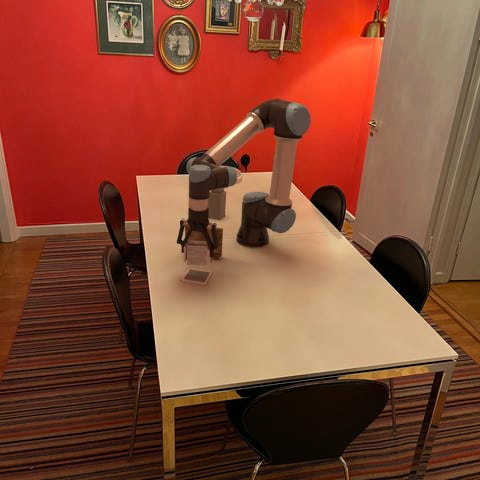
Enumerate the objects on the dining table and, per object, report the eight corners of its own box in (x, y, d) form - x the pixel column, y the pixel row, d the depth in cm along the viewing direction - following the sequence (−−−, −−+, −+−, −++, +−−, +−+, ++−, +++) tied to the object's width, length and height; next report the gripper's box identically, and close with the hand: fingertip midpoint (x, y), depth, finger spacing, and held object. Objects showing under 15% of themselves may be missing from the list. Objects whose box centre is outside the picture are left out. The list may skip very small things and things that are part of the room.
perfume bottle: (207, 217, 241) (208, 184, 234) (213, 213, 247) (214, 180, 239) (219, 220, 239) (221, 186, 231) (225, 215, 245) (226, 182, 237)
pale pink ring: (195, 183, 292) (195, 174, 290) (205, 171, 316) (205, 163, 314) (237, 187, 288) (238, 179, 286) (244, 175, 313) (245, 167, 310)
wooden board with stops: (222, 254, 204) (223, 227, 198) (219, 259, 199) (221, 231, 194) (187, 249, 206) (187, 222, 201) (183, 254, 202) (183, 226, 196)
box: (207, 260, 184) (208, 240, 180) (207, 266, 180) (207, 245, 176) (187, 259, 183) (187, 239, 180) (186, 265, 179) (186, 244, 176)
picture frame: (212, 273, 188) (212, 271, 188) (205, 285, 179) (206, 283, 179) (188, 269, 190) (188, 268, 189) (180, 281, 181) (180, 279, 180)
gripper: (229, 207, 174) (226, 262, 183) (174, 200, 177) (173, 254, 186) (224, 214, 167) (221, 270, 176) (167, 207, 170) (167, 262, 180)
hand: (197, 262), depth 181 cm, fingers closed on box, 9 cm apart
